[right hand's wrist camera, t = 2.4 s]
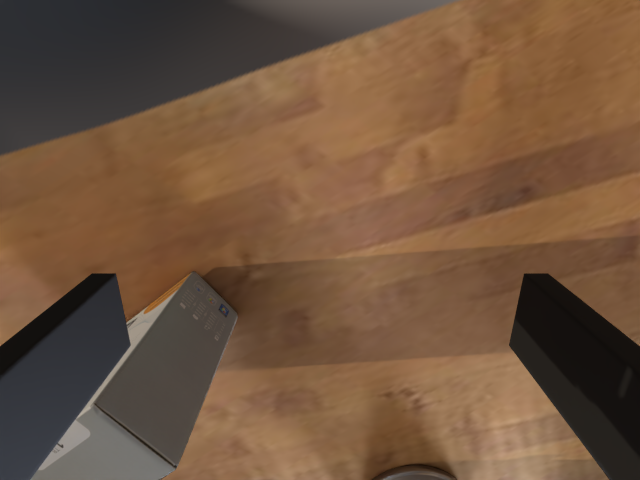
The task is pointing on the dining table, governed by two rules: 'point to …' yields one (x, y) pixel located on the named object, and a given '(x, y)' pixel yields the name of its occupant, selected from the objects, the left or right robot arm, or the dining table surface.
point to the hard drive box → (149, 391)
